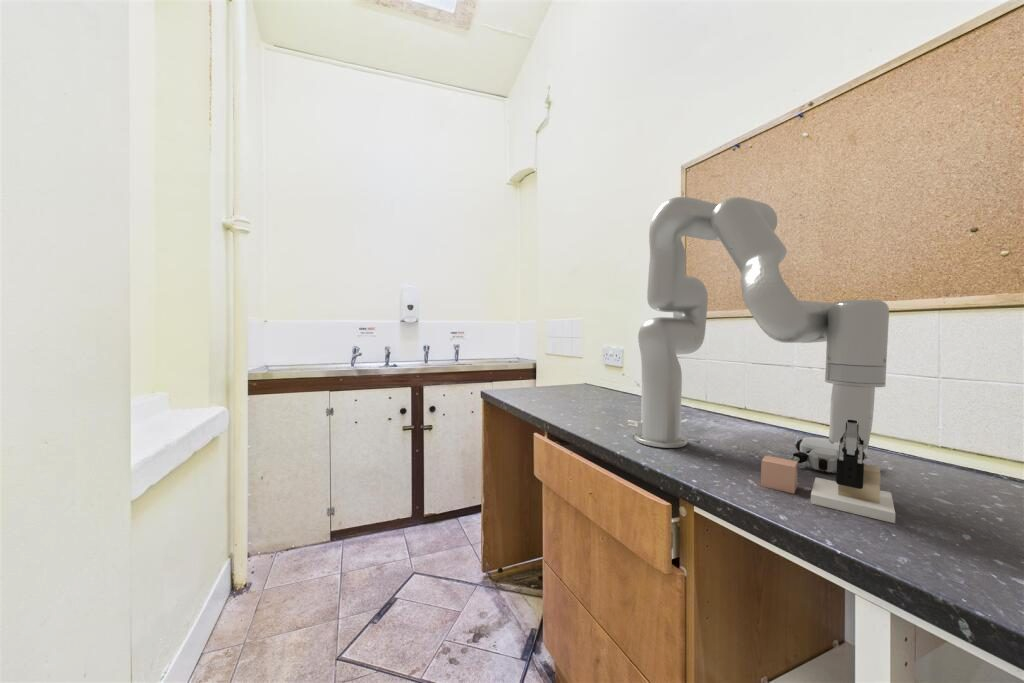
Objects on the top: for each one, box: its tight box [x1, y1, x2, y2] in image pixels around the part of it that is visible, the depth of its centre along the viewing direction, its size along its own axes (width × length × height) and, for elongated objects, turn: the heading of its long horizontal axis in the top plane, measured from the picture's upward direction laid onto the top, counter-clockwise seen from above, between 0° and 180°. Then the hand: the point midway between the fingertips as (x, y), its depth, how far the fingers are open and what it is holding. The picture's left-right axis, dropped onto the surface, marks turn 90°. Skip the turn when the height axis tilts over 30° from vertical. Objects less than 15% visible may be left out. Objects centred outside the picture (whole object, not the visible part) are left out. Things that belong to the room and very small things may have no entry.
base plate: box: [810, 477, 896, 524], centre depth 65 cm, size 10×10×2 cm
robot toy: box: [788, 435, 869, 474], centre depth 83 cm, size 12×4×15 cm
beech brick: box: [838, 463, 882, 504], centre depth 64 cm, size 5×4×5 cm
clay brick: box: [760, 454, 799, 494], centre depth 72 cm, size 5×4×5 cm
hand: (849, 477), depth 65 cm, fingers open, 9 cm apart
